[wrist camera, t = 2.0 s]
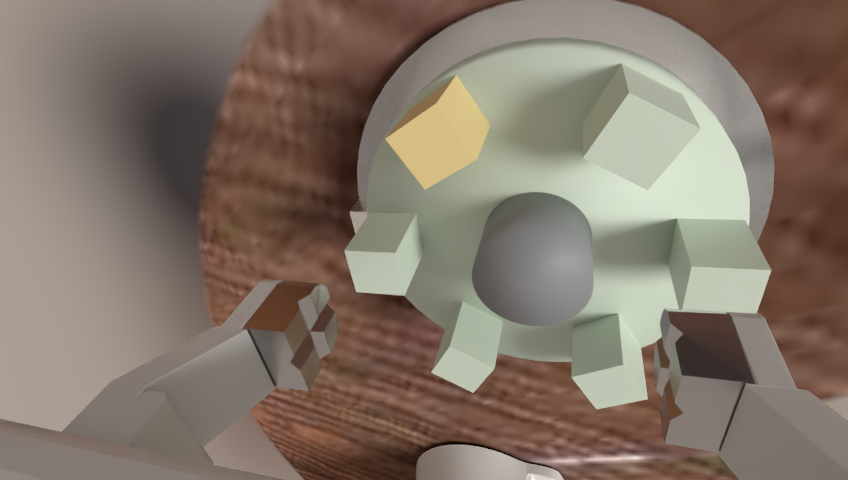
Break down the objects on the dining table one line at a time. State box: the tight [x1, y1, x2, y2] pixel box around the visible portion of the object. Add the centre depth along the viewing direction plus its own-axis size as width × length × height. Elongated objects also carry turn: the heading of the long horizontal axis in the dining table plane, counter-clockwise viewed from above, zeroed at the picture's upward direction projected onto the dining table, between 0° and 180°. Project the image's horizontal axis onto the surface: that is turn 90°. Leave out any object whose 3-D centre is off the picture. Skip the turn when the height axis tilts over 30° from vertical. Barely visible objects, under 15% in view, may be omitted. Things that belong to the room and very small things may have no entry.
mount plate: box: [349, 0, 774, 242], centre depth 28 cm, size 24×24×3 cm
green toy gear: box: [344, 37, 771, 409], centre depth 26 cm, size 21×21×6 cm
